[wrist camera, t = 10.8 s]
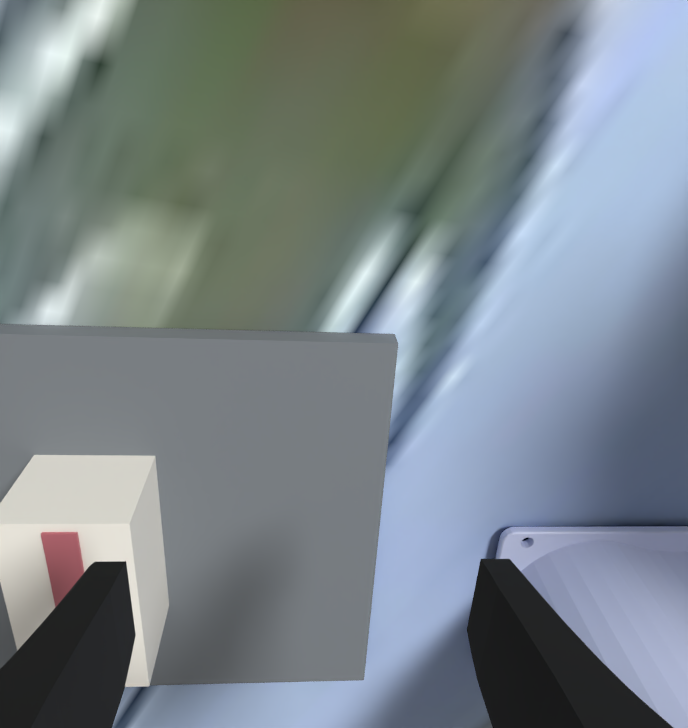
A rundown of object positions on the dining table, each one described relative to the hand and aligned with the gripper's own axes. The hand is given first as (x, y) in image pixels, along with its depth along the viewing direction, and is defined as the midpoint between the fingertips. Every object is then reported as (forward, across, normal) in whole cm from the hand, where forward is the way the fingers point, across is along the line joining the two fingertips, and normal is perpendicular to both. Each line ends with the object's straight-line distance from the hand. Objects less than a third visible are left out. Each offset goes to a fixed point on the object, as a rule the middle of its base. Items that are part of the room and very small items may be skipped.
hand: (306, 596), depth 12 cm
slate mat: (+9, +7, +6) cm, 13 cm away
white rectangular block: (+9, +7, +6) cm, 13 cm away
